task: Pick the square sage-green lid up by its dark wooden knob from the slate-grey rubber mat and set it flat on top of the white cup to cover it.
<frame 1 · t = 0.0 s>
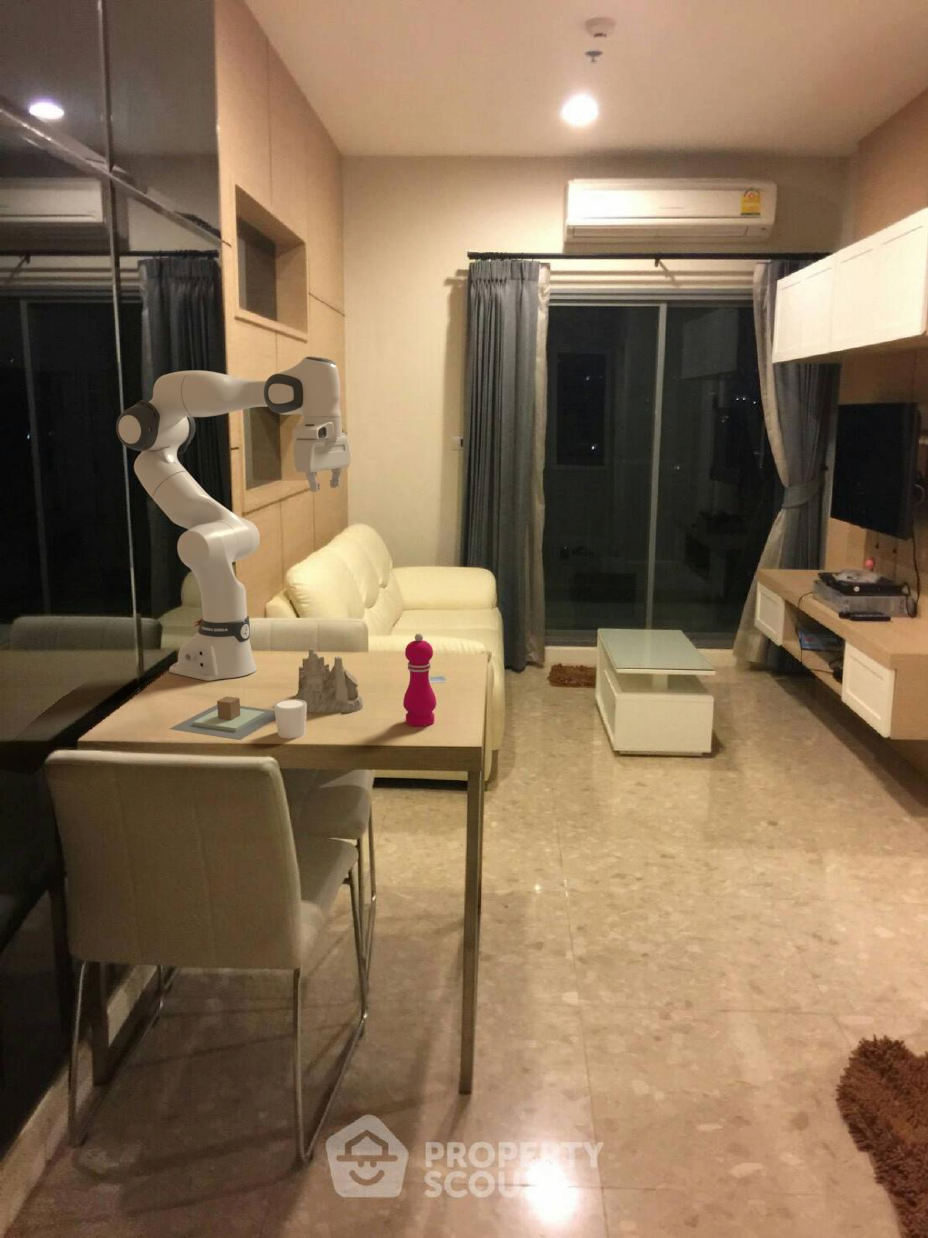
hand: (325, 489, 217), 48 cm above the table, fingers open, 8 cm apart
pepper mill: (420, 722, 202), on the table
white cup: (291, 736, 195), on the table
mat: (229, 722, 202), on the table
ceramic cottage: (329, 704, 215), on the table
lid: (229, 720, 202), resting on mat
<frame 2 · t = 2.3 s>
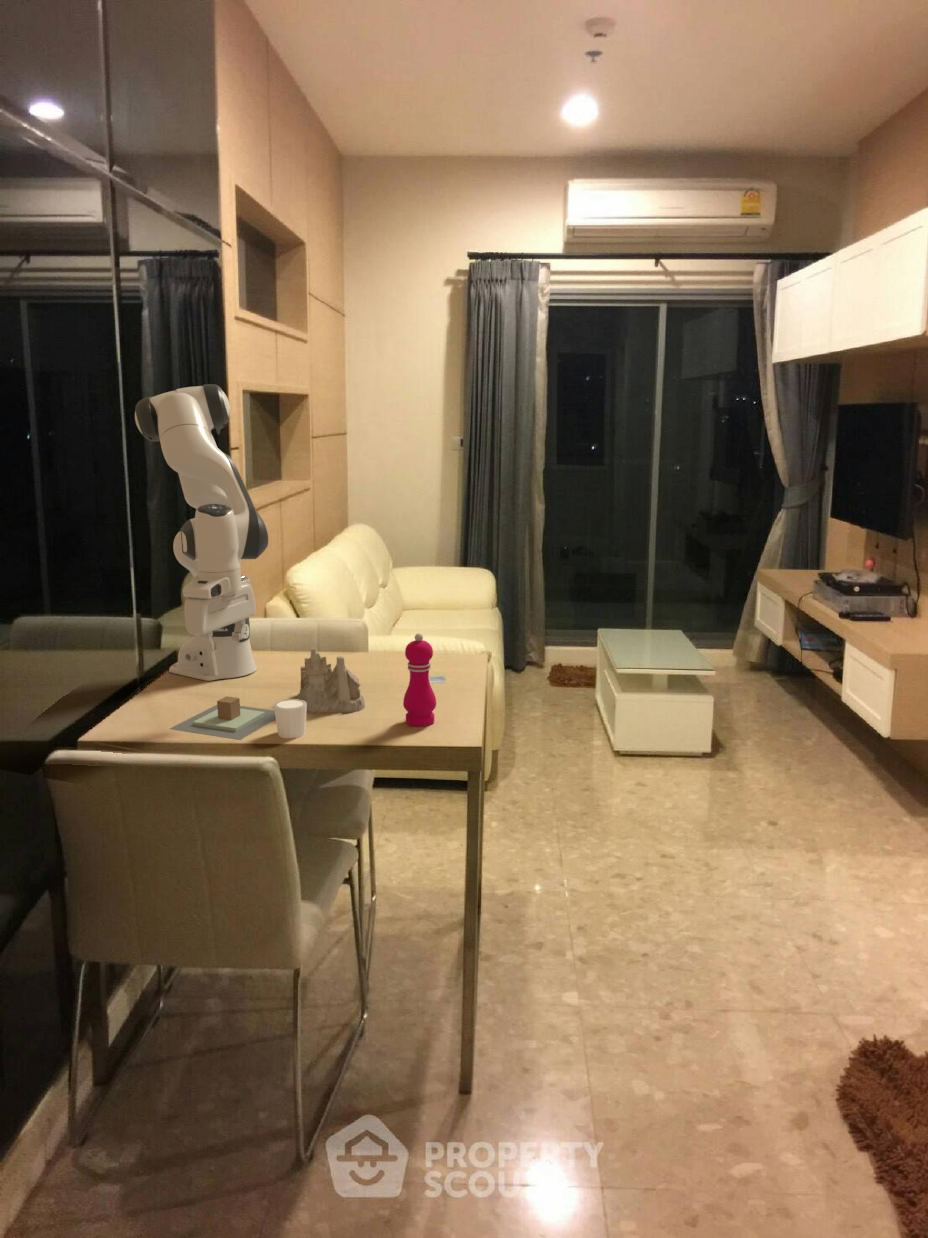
hand: (224, 645, 198), 17 cm above the table, fingers open, 8 cm apart
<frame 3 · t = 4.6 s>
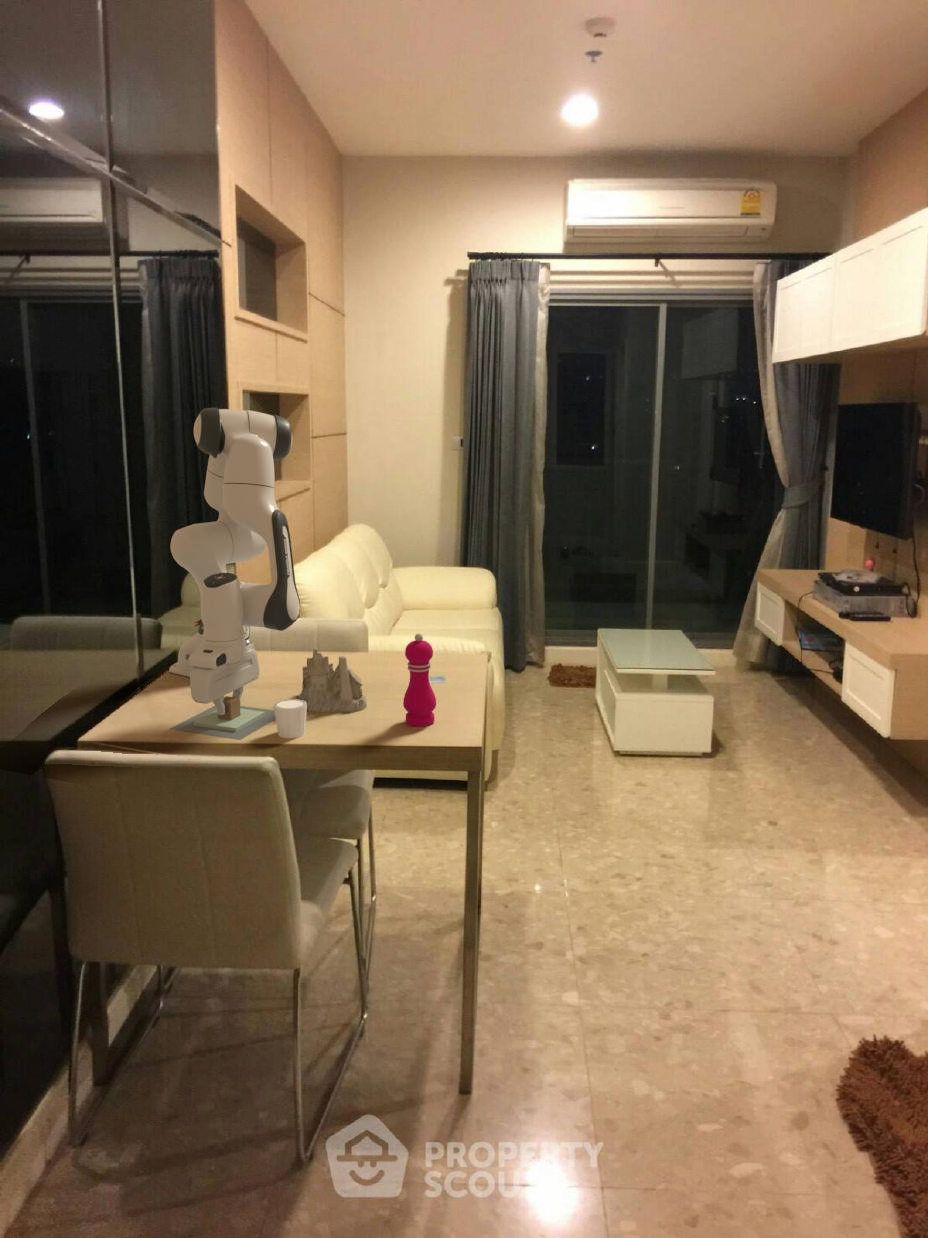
hand: (229, 710, 202), 3 cm above the table, fingers closed on lid, 3 cm apart
lid: (229, 720, 202), resting on mat, touching gripper
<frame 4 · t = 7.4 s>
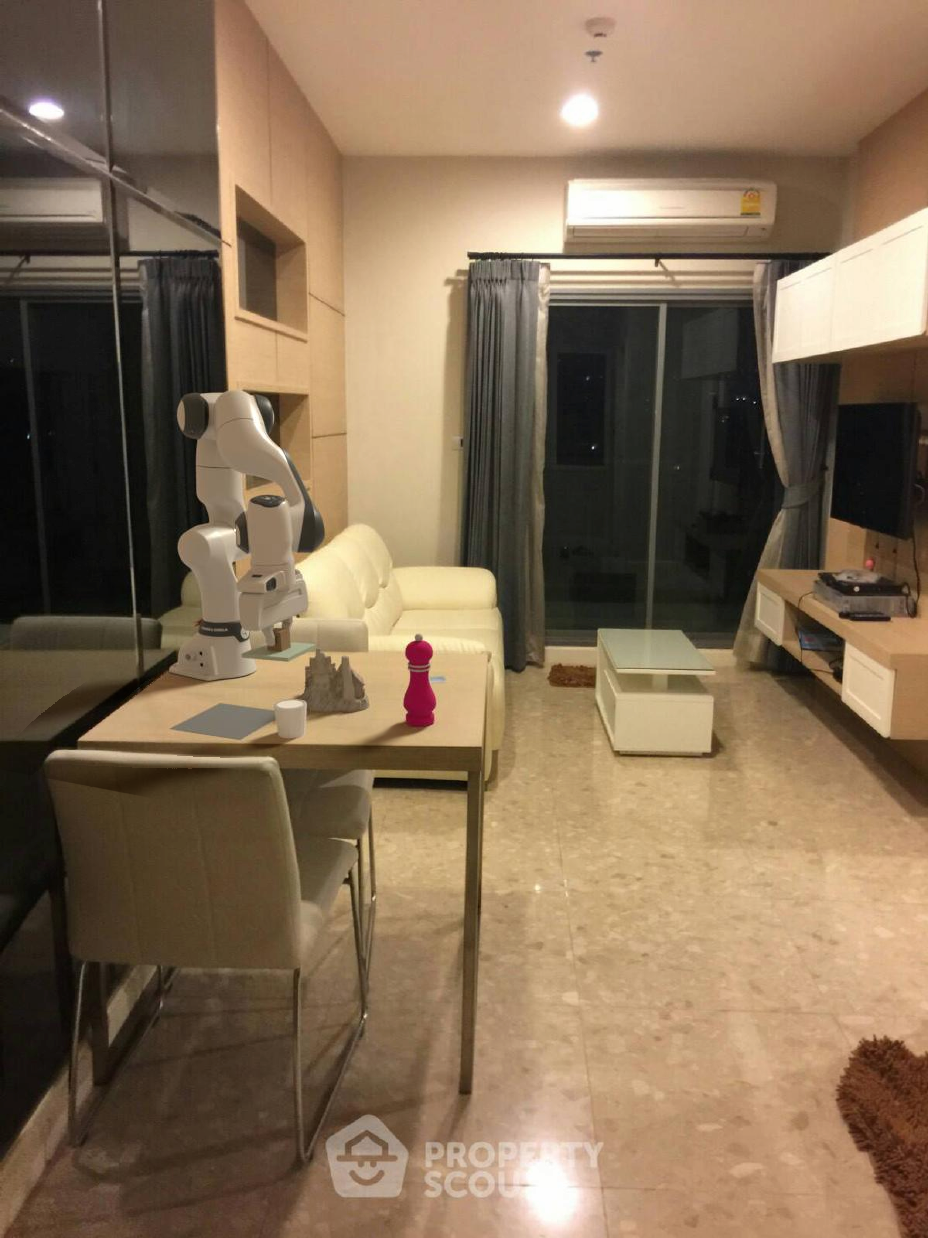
hand: (278, 642, 190), 20 cm above the table, fingers closed on lid, 3 cm apart
lid: (279, 652, 191), point 18 cm above the table, touching gripper
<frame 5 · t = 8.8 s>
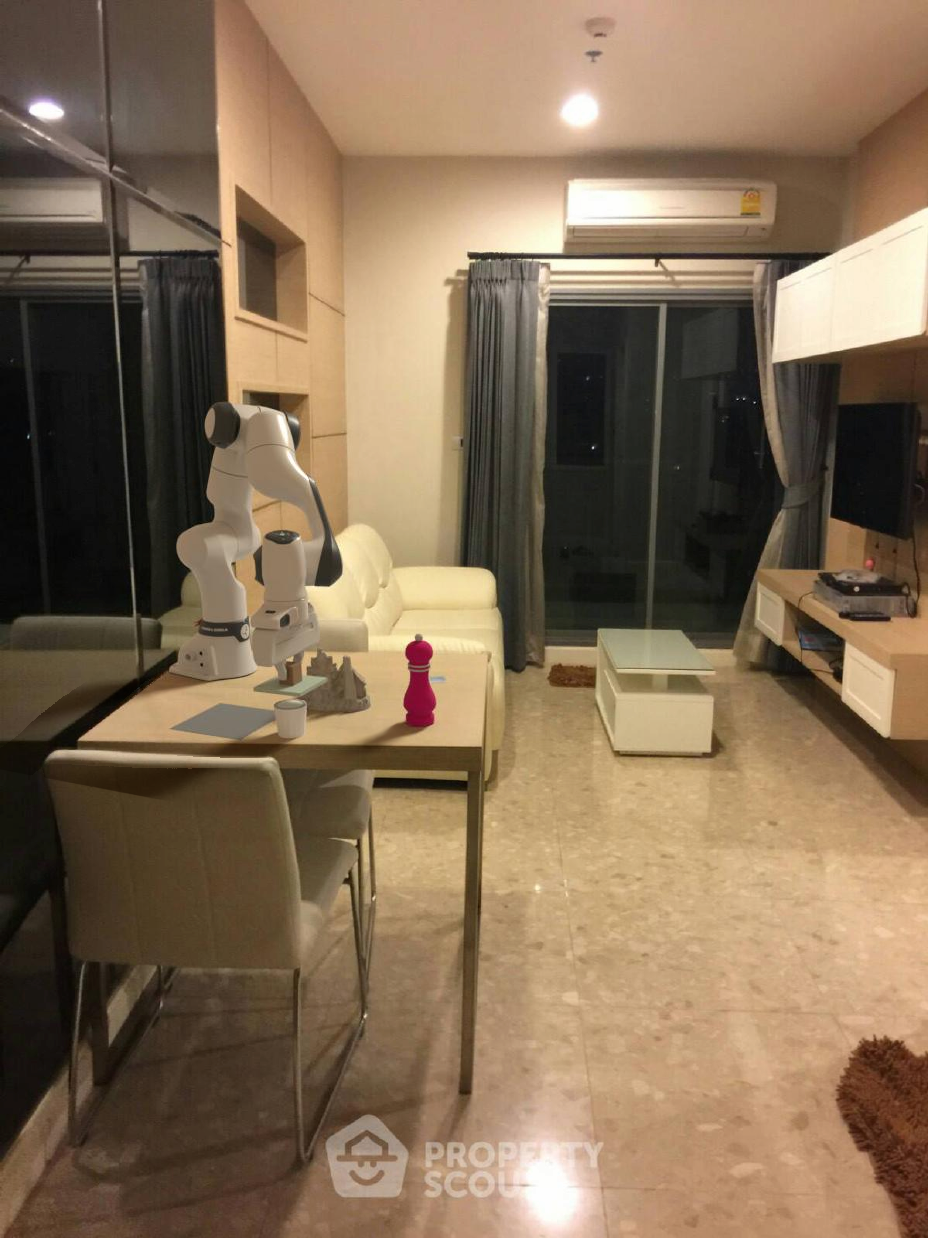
hand: (290, 676, 191), 13 cm above the table, fingers closed on lid, 3 cm apart
lid: (291, 686, 192), point 11 cm above the table, touching gripper
when the fingers open (11 cm above the table, at t = 9.9 s): lid drops 2 cm, resting on white cup.
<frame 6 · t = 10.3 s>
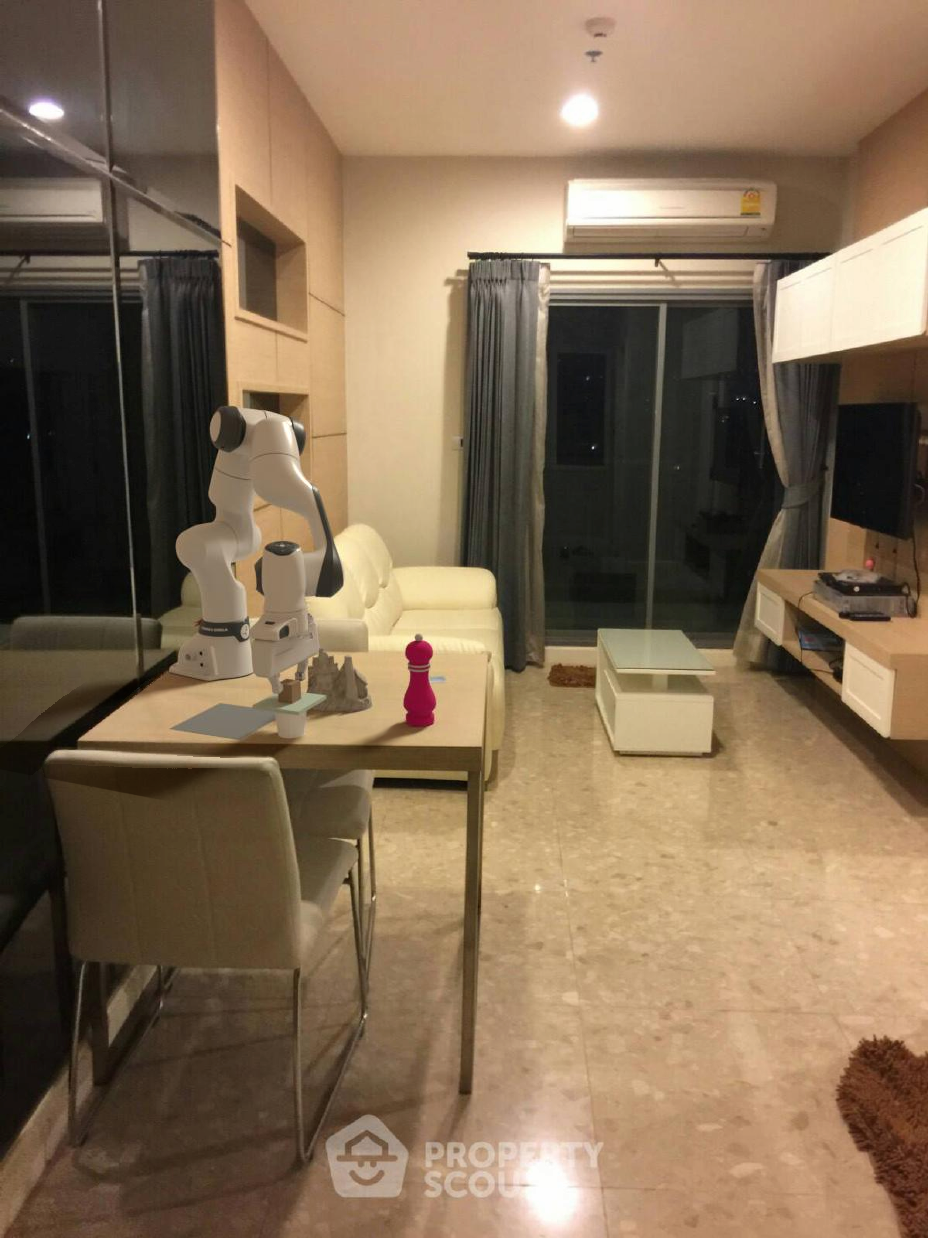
hand: (289, 686, 192), 11 cm above the table, fingers open, 7 cm apart
white cup: (291, 736, 195), on the table, touching lid
lid: (290, 703, 193), point 7 cm above the table, touching white cup
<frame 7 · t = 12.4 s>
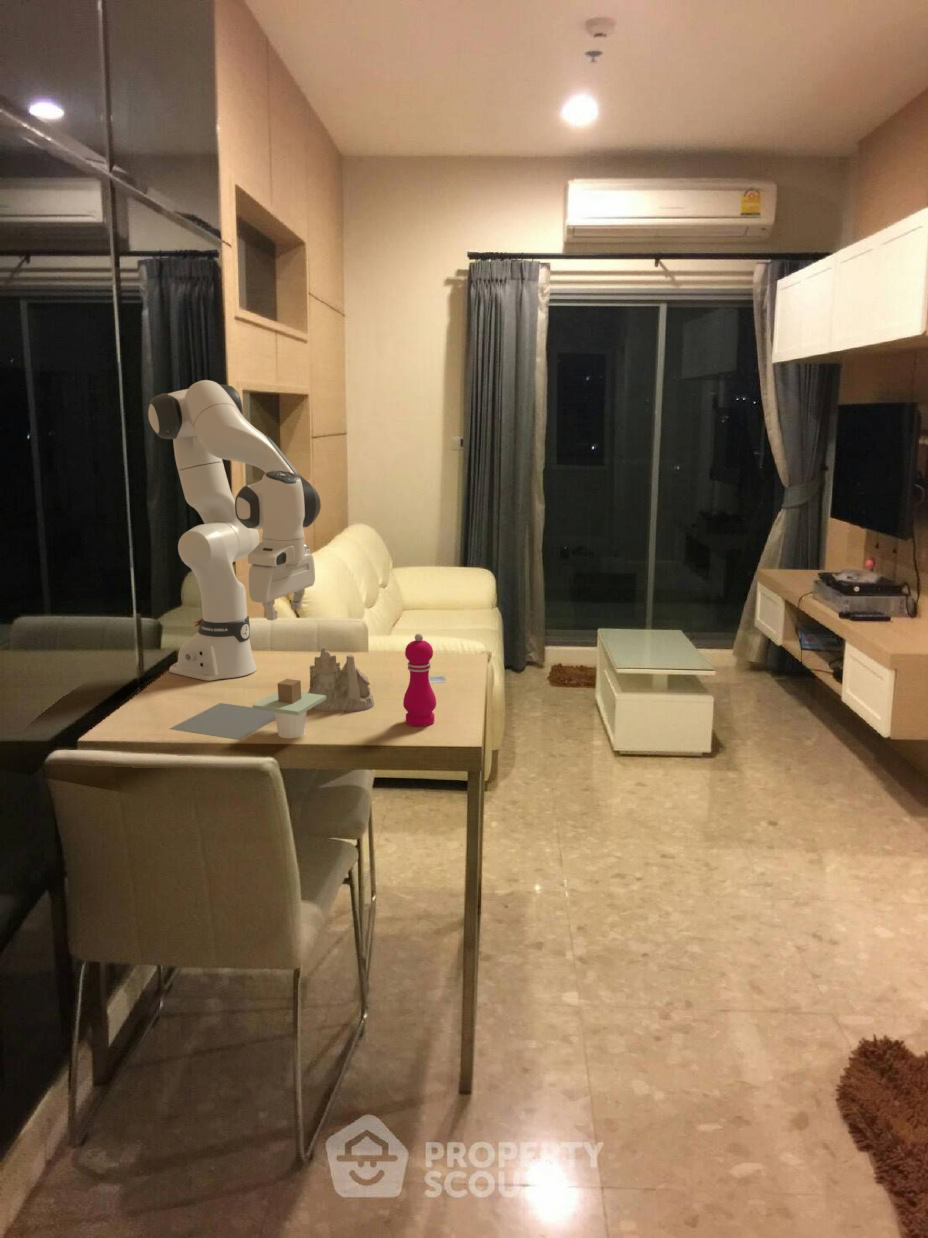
hand: (284, 614, 196), 24 cm above the table, fingers open, 8 cm apart
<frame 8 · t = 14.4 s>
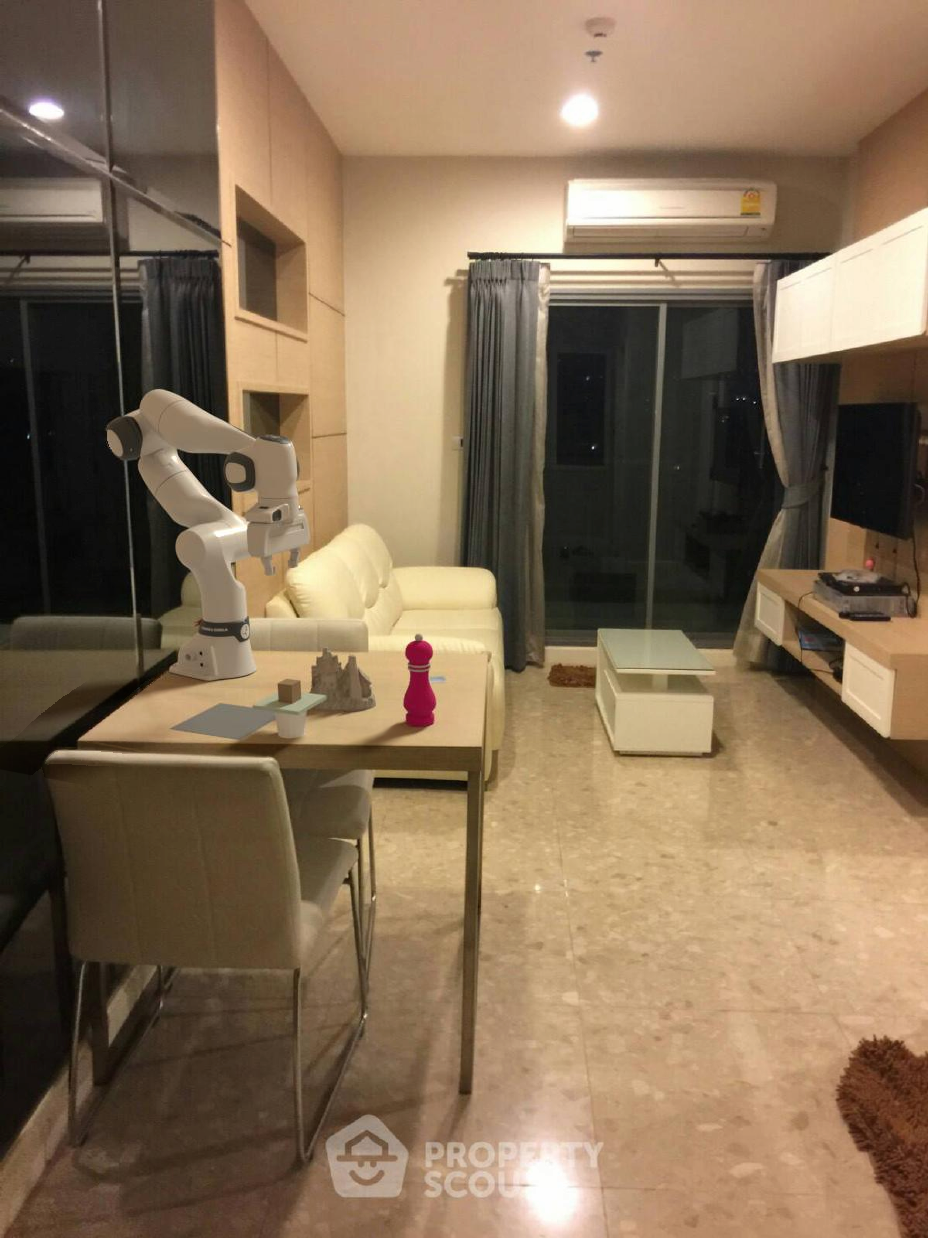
hand: (281, 571, 208), 31 cm above the table, fingers open, 8 cm apart
at the end: lid 0.0 cm off-centre on the white cup, point 7.2 cm above the white cup's base; lid tilted 0°; white cup tilted 0° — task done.
